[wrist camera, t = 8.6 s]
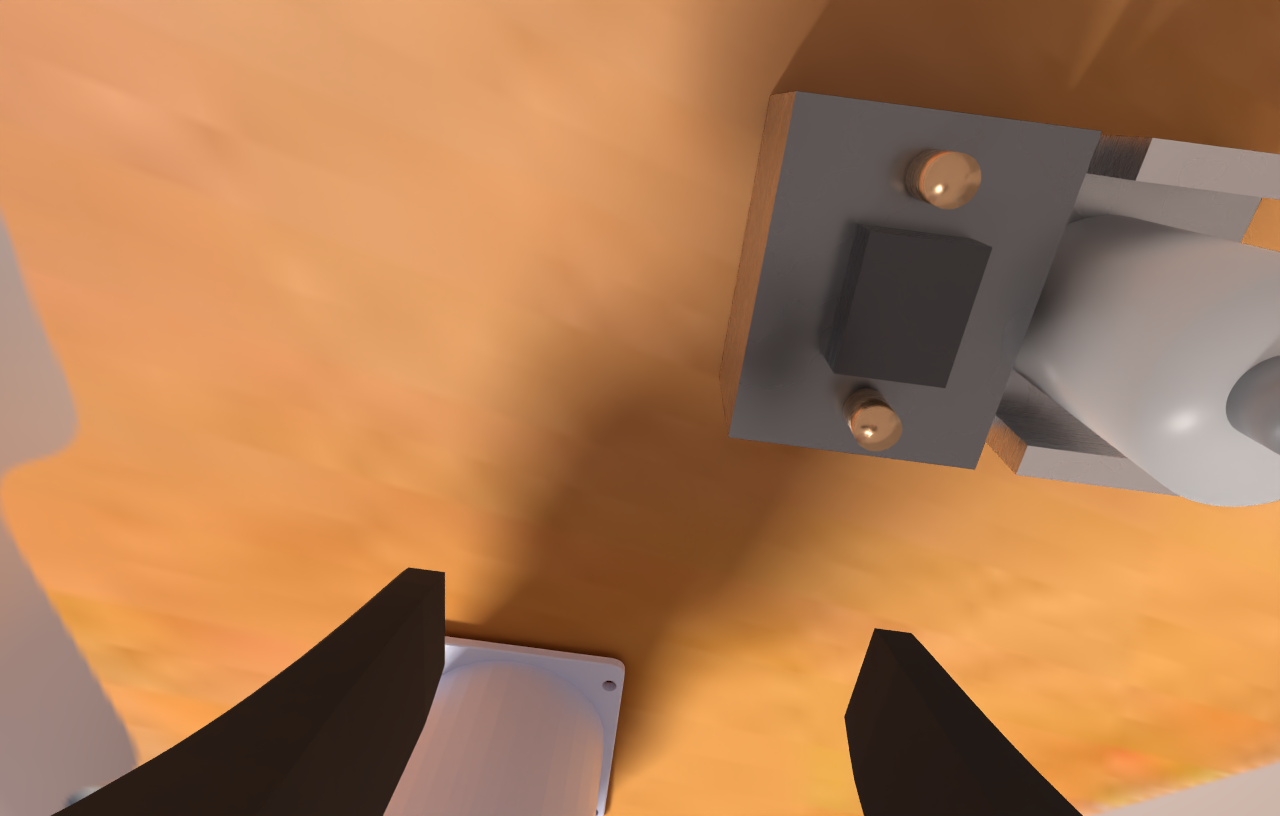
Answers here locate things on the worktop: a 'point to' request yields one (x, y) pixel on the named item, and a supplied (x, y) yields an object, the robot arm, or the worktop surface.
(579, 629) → the worktop surface
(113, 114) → the worktop surface
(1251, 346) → the white cylinder
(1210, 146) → the grey tray
